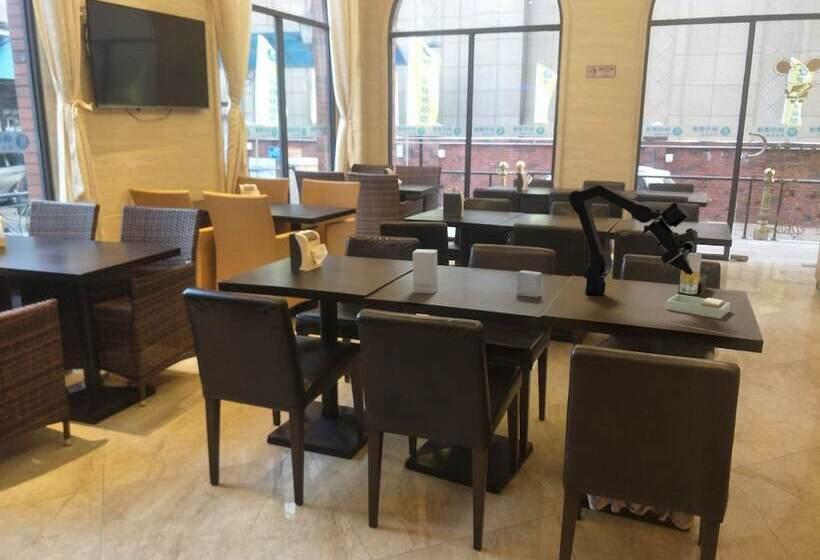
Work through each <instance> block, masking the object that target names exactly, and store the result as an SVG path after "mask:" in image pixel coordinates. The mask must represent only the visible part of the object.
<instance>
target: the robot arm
mask: <svg viewBox="0 0 820 560" xmlns="http://www.w3.org/2000/svg"><path fill="white" fill-rule="evenodd" d="M599 197H600V198H602V199H603V200H605V201H608V203H609V202H610V203H612V204H613V205H615V206H617V207H620V208H621V209H623V210H625V211H626V212H628V213H629V214H630V215H631V217H632V218H634V219H635V220H637V221H638V222H639V223H642V224H643V223H644V224H646V223H649V222H651V223H650V224H649V225H647V224H646V225H644V226H643V232H642V233H643V234H648V233H651V235H652V236H653V237H654V238H655V239H656V241H657V242H658V243H657V245H658V246H659V247H662V249H664V250H665V251H666V252H665V253H663V254H662V255H661V257H660V260H661V262H662V263H663V264H664V265H666V264H668V265H670V266H672V267H674V268H677V269H679V270H683V271H684V272H686V273H688V274H692V273H693V271H692V269H691V268H690V266H689V264H688V263H687V261H686V259H685V253H694V251H695V247H696V244H695V243H694V241H696V240H698V239H699V236H698V231H696V229H693V227H690V228H687V229H686V230H685V232H683V233H681V234H679V233H678V232H676V231H673V230H672V229H671V228H672V227H674V228H677V227H678V226H679V225H681V224H682V223H683V222H685V221H686V220H687V219H688V218H689V217H691V215H690V212H688V209H686V207H684V206H683V205H682V204H679V202H678V201H674V202H673V203H671V204H670V206H668V207H667V208H666V209H665V210H662V209H659V208H657V207H656V206H655V205H654V204H653V205H652V204H650V203H646V202H643V201H638V200H635V199H632V198H631V197H629V196H626V195H624V194H622V193H620V192H619V191H617V190H615V189H613V188H611V187H608V186H607V185H606V184H597V185H595V186H593V187H590V188H587V189H580V190H579V189H578V190H574V191H572V192H570V194H569V196H568V201H569V202H568V203H569V204H570V206H571V208H572V209H573V211H574V212H575V214H576V215H577V216H578V219H579V221H580V225H581V227H582V231H583V235H584V238H585V241H586V244H587V248H588V250H589V267H588V268H587V269H586V270H585V271H584V272H583V276H584V279H585V286H584V291H583V292H584V294H585V295H587V296H602V295H603V296H604V295H605V292H606V284H607V283H606V281H605V277H607V274H608V273H609V272H611V271H612V268H613V263H614V260H613V259H612V255H611V252H610V251H607V252H606V250H604V248H603V246H602V243H601V239H600V236H599V233H598V230H597V229H598V228H597V226H596V223H595V220H594V217H593V214H592V207H593V204H592V203H593V202H592V200H595V199H597V198H599ZM657 219H659V220H657ZM670 227H671V228H670Z"/></svg>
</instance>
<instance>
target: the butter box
mask: <svg viewBox="0 0 820 560" xmlns="http://www.w3.org/2000/svg"><path fill="white" fill-rule="evenodd" d="M704 299H705V300H704V301H702V304H701V306H705V307H711V308H717V309H721V308H722V307H723V304H724V302H725V301H724V299H717V298H713V297H707V298H704Z"/></svg>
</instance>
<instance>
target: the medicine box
mask: <svg viewBox="0 0 820 560" xmlns="http://www.w3.org/2000/svg"><path fill="white" fill-rule="evenodd" d="M542 275H543V273H542V272H540V271H532V270H520V271H518V272H517V282H516V296H523V297H529V298H537V299H538V297H540V296H541V293H542Z"/></svg>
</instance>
